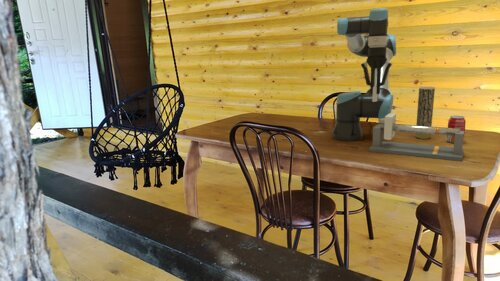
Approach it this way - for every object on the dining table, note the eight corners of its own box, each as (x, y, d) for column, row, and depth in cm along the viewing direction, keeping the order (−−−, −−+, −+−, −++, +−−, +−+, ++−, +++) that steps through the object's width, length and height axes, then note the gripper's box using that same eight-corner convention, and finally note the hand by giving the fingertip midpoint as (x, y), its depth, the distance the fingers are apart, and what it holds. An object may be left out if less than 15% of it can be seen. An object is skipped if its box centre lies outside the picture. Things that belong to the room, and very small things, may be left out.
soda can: (449, 139, 174) (451, 114, 171) (465, 141, 170) (468, 116, 167) (444, 142, 170) (446, 117, 167) (460, 144, 165) (463, 118, 162)
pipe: (377, 130, 162) (377, 123, 161) (378, 129, 165) (379, 122, 164) (459, 137, 145) (459, 129, 145) (459, 135, 148) (460, 127, 147)
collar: (383, 139, 158) (384, 116, 156) (387, 134, 166) (389, 113, 163) (390, 139, 157) (392, 117, 154) (394, 135, 164) (396, 113, 162)
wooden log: (432, 139, 175) (436, 87, 169) (417, 139, 177) (421, 88, 171) (428, 136, 182) (432, 86, 176) (414, 136, 183) (417, 86, 177)
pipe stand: (368, 151, 161) (369, 129, 158) (376, 143, 172) (377, 123, 170) (462, 161, 142) (464, 136, 140) (463, 152, 154) (465, 129, 151)
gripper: (359, 47, 155) (357, 101, 161) (391, 46, 149) (388, 103, 154) (364, 47, 162) (362, 99, 167) (394, 46, 155) (391, 100, 161)
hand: (374, 101), depth 161 cm, fingers closed
